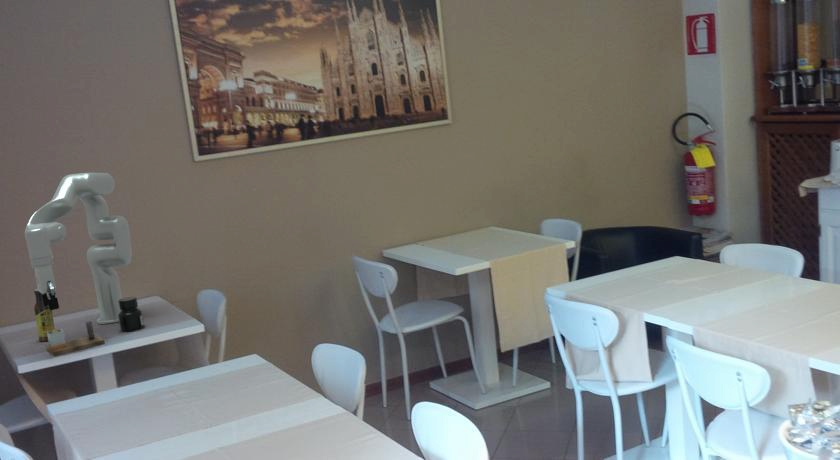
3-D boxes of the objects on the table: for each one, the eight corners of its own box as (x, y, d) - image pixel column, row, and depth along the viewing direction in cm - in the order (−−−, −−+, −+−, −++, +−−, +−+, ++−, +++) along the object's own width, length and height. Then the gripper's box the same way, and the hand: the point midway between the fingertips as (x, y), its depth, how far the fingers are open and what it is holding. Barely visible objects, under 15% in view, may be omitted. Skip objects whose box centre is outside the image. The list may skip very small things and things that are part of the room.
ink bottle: (149, 327, 352) (144, 297, 350) (128, 333, 345) (123, 302, 343) (136, 324, 358) (131, 295, 356) (116, 330, 352) (110, 300, 350)
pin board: (96, 338, 344) (92, 317, 342) (104, 343, 334) (101, 322, 332) (46, 350, 334) (42, 329, 333) (53, 356, 324) (49, 334, 323)
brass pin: (61, 350, 332) (57, 329, 331) (62, 351, 330) (58, 329, 329) (55, 351, 331) (51, 330, 330) (56, 352, 329) (52, 331, 328)
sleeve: (49, 347, 331) (46, 331, 330) (63, 344, 334) (60, 328, 333) (52, 350, 327) (49, 334, 326) (66, 346, 330) (64, 330, 329)
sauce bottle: (45, 342, 347) (36, 291, 343) (35, 341, 350) (26, 291, 347) (60, 337, 352) (51, 287, 349) (50, 336, 355) (41, 287, 352)
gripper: (26, 260, 330) (35, 305, 334) (36, 266, 316) (45, 313, 319) (47, 256, 334) (57, 300, 338) (58, 262, 320) (67, 308, 323)
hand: (51, 307), depth 328 cm, fingers open, 9 cm apart
